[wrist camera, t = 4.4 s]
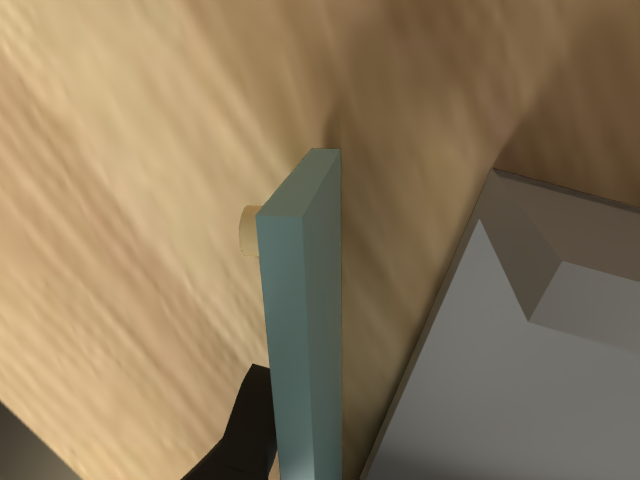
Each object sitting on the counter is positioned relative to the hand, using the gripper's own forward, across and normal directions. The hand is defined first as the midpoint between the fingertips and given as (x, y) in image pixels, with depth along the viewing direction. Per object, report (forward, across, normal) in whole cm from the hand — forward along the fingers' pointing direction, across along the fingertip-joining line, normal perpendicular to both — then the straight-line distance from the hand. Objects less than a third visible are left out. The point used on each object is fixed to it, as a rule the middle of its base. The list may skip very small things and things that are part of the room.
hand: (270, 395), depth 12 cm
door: (+3, -1, +1) cm, 3 cm away
